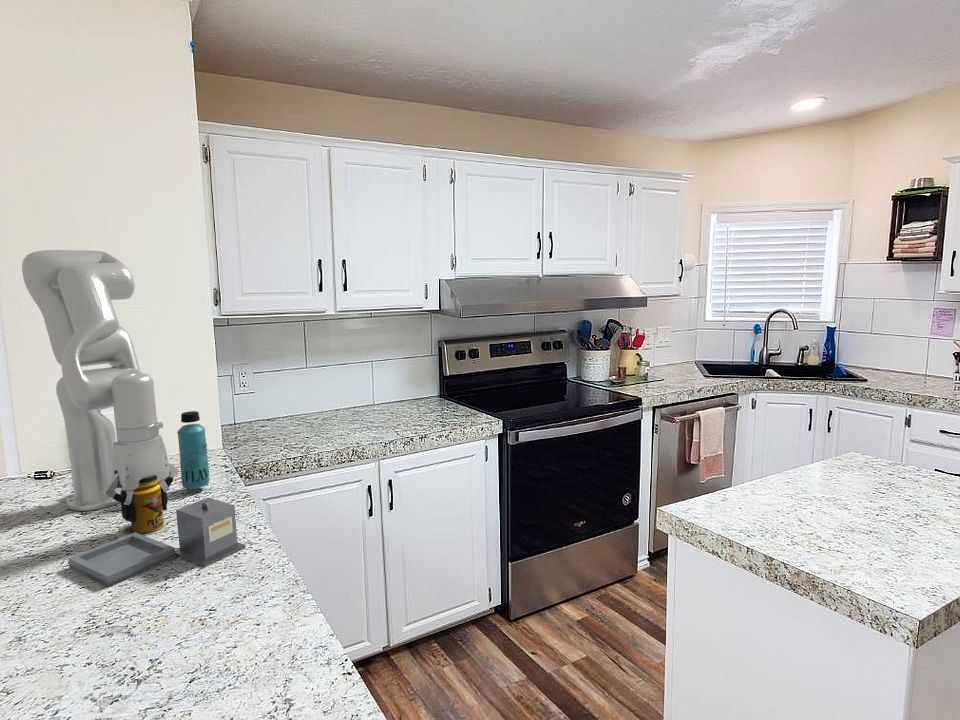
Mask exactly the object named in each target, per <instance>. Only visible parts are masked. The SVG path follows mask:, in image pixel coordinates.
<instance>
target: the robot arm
mask: <svg viewBox="0 0 960 720" xmlns="http://www.w3.org/2000/svg"><path fill="white" fill-rule="evenodd" d="M21 272H22V278H23V282H24V284H25V288H26V290H27V291H28V293H29V295H30V296H31V299H32V300H33V301H34V303H35V304H36V306H37V307H38V309H39V311H40V312H41V314H42V317H43V320H44V323H45V325H44V326H45V329H46V332H47V335H48V339H49V342H50V346H51V349H52V352H53V355H54V358H55V360H56V361H57V363H58V364H59V365H60V366H61V374H62V376H61V378H59V379H58V380H57V382H56V386H55V391H56V397H57V400H58V403H59V405H60V409H61V413H62V416H63V421H64V426H65V432H66V440H67V448H68V457H69V458H68V459H69V465H70V473H71V481H72V482H71V488H72V490H73V491H72V492H73V496H71V497H69V498H68V500H66V506H67V509H69V510H73V511H80V512H81V511H83V512H84V511H95V510H99V509H100V510H101V509H104V508H109V507H111V506H115V505H117V504H120V506H121V507H120V508H121V517H122V519H124V520H125V521H127V522H130V523H131V522H135V521H136V518H135V508H134V504H133V503H131V500H132V496H133V493H134V490H136V489H137V488H138V486H139V480H141V479H143V478H147V477H150V476H153V475H156V476H157V481H158V484H159V485H160V488H161V498H162V508H163V512H164V511H167V509H168V494H167V492H169V489H170V486H171V485H172V483H173V482H174V478H176V477H177V475H178V473H179V469H178V468H177V467H175V466H174V465H173V464H171V463H170V462H169V460H168V454H167V449H166V445H165V442H164V439H163V436H162V435H161V434H160V429H162V428H164V424H163V422H161V421H160V422H159V421H158V416H157V407H156V406H157V405H156V395H155V386H154V385H155V383H154V380H153V378H152V376H151V375H150V374H149V373H143V372H142V371H141V369H140V364H139V362H138V359H137V355H136V351H135V348H134V345H133V341H132V338H131V336H130V335H129V333H128V331H127V329H125V328H124V327H123V326H121V325H120V320H119V319H118V316H117V313H116V310H115V309H114V306H113V302H112V301H117V300H118V301H119V300H121V301H122V300H129V299H130V298H131V297H132V296H133V295H134V292H135V288H136V287H135V280H134V276H133V275H132V273H131V271H130V269H129V268H128V267H127V266H126V264H124V263H123V262H122V261H121V260H120V259H118V258H116V257H115V256H113V255H111V254H110V253H108V252H106V251H103V250H81V249H80V250H79V249H78V250H77V249H76V250H74V249H73V250H71V249H46V250H38V251H33V252H30V253H28V254H26V255H25V257H24V258H23V260H22V263H21ZM99 365H110V367H109V366H108V367H104V368H103V367H102V368H99V367H98V368H92V369H85V370H84V369H82V367H89V366H99ZM111 408H113V414H114V423H113V422H112V421H111V420H110V419H109V418H108V417H106V416H105V415H104V414H103V413H102V412H101V411H102V410H105V409H106V410H107V409H111Z"/></svg>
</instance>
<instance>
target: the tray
mask: <svg viewBox="0 0 960 720" xmlns="http://www.w3.org/2000/svg"><path fill="white" fill-rule="evenodd" d="M175 550H176V547H175V546H172V545H169V544H167V543H164V542H162V541H158V540H156V539H154V538H152V537H148V536H147V535H145V536H143V535H141V534H138V533H136V532H135V533H132V534H130V535H127V536H124V537H122V538H121V537H119V538H117V539H114V540H112V541H109V542H107V543H104V544H101V545H99V546H96V547H94V548H91V549H89V550H86V551H83V552H80V553H78V554H74V555H73V556H70V557H68V558H67V562H68V567H69V569H70V570H72V571H74V572H76V573H78V574H80V575H83V576H85V577H86V578H88V579H91V580H92V581H94V582H97V583H99V584H100V585H103V586H105V587H107V588H110V587H113V586H115V585H118V584H119V583H122V582H124V581H126V580H128V579H130V578H133V577H135V576H138V575H139V574H142V573H144V572H146V571H149V570H151V569H153V568H155V567H157V566H160V565H162V564H164V563H166V562H169V561H171V560H174V559H176V558H177V556H176V553H175Z"/></svg>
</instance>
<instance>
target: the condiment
mask: <svg viewBox="0 0 960 720" xmlns="http://www.w3.org/2000/svg"><path fill="white" fill-rule="evenodd" d="M131 503H133V504H134V508H135V518H136V521H135V522H130V524H128V525H126V524H125V525H121V526H119V534H120V538H122V537H124V536H127V535H130V534H132V533H135V532H136V533H138V534H141V535H143V536H149V535H154V534H159V533H162V532H166V531H168V528H167V527H168V526H167V524H166V520H165V518H164V511H163V508H162V498H161V488H160V485H159V484H158V481H157V476H156V475H153V476H150V477H147V478H143V479H141V480H139V486H138V488H137V489H136V490H134V493H133V496H132V500H131Z"/></svg>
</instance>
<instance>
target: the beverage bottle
mask: <svg viewBox="0 0 960 720" xmlns="http://www.w3.org/2000/svg"><path fill="white" fill-rule="evenodd" d="M200 418H201V417H200V413H199V411H195V410H191V411H184V412H182V413H181V414H180V422H181V423H186V424H183V425H182V426H181V427H180V428H179V429H178V430H177V432H176V433H177V437H178V438H177V439H178V441H177V442H178V452H179V463H180V465H179V467H180V479H181V485H182V488H183V489H187V490H188V489H189V490H193V489H199V488H204V487H205V486H208V485H209V483H210V479H211V478H210V470H209V458H208V443H207V438H206V428H205V427H204V426H203V425H201V424H199V423H196V422H199V421H200V420H201V419H200ZM194 422H195V423H194ZM187 423H188V424H187Z"/></svg>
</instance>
